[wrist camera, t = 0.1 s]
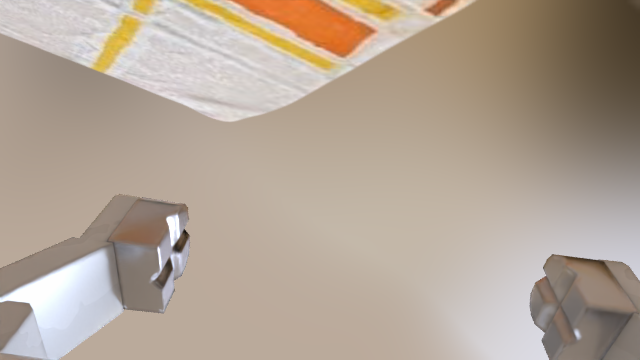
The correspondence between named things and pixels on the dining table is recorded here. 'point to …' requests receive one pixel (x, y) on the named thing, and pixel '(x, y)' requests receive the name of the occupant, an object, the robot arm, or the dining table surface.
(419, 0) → the dining table surface
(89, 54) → the dining table surface
